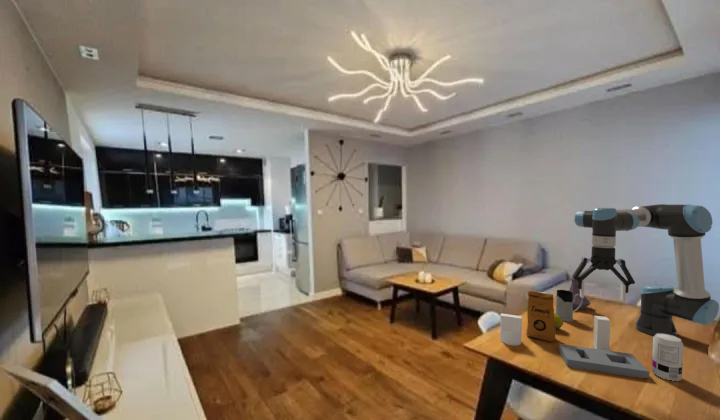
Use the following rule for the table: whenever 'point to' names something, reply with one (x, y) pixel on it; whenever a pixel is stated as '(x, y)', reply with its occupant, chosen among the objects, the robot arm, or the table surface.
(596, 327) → the square peg
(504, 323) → the white piece
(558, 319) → the lemon
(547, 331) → the coffee package
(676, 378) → the supplement can
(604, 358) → the socket plate
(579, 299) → the flask
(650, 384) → the table surface
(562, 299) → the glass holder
